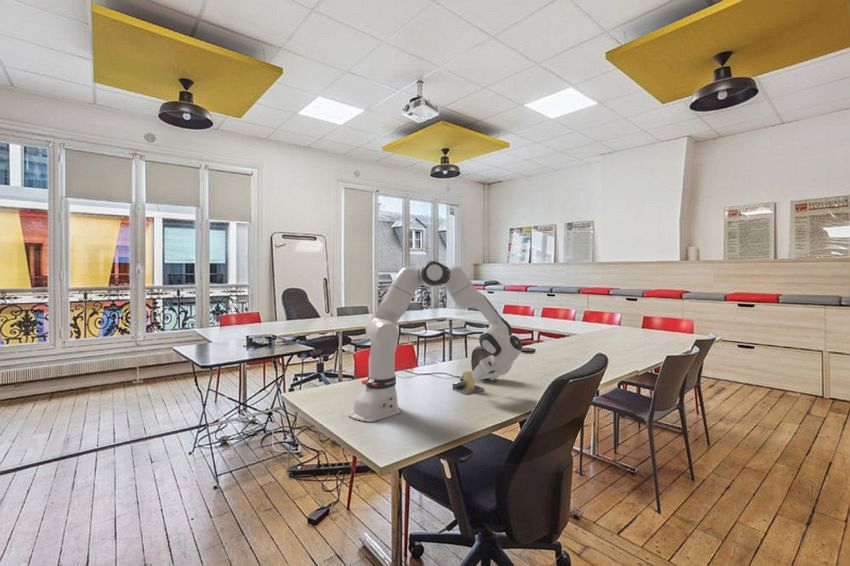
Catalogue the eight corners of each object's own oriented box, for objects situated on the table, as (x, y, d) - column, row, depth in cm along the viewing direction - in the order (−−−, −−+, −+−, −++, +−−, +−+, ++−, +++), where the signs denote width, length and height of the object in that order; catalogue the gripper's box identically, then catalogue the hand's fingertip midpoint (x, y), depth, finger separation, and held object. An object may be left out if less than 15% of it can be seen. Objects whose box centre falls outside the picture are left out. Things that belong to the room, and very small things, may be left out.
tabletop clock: (471, 381, 211) (471, 334, 211) (474, 376, 220) (473, 332, 219) (498, 383, 207) (498, 335, 206) (500, 378, 216) (500, 333, 215)
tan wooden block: (474, 388, 194) (474, 372, 194) (468, 390, 192) (468, 374, 192) (469, 386, 197) (469, 371, 197) (463, 388, 195) (463, 372, 195)
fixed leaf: (484, 390, 195) (484, 383, 194) (465, 394, 188) (465, 387, 188) (471, 385, 203) (471, 378, 203) (452, 389, 196) (452, 382, 196)
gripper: (511, 354, 185) (496, 371, 194) (477, 360, 174) (464, 377, 182) (518, 365, 182) (503, 382, 190) (484, 372, 170) (470, 389, 179)
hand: (483, 380), depth 186 cm, fingers open, 8 cm apart
